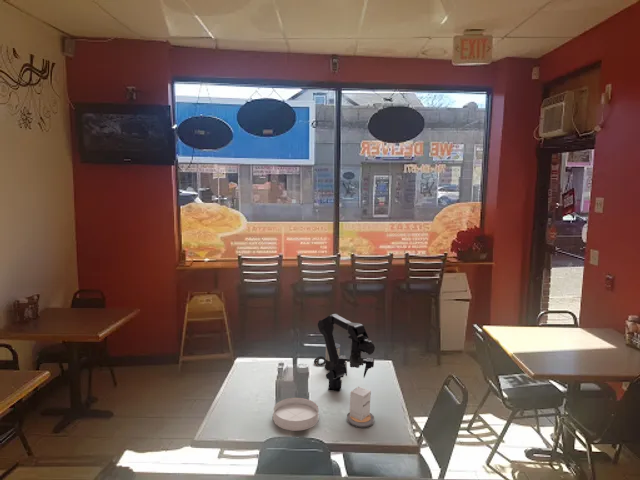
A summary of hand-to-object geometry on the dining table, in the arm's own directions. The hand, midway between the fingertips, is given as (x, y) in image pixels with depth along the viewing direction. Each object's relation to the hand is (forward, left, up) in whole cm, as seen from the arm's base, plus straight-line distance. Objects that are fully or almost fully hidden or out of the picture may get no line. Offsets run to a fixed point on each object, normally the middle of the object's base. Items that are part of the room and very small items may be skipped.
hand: (355, 376), depth 240 cm
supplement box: (+4, -19, -11) cm, 22 cm away
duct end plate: (+5, -19, -13) cm, 24 cm away
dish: (-26, -24, -14) cm, 38 cm away
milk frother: (-21, +37, -13) cm, 44 cm away
